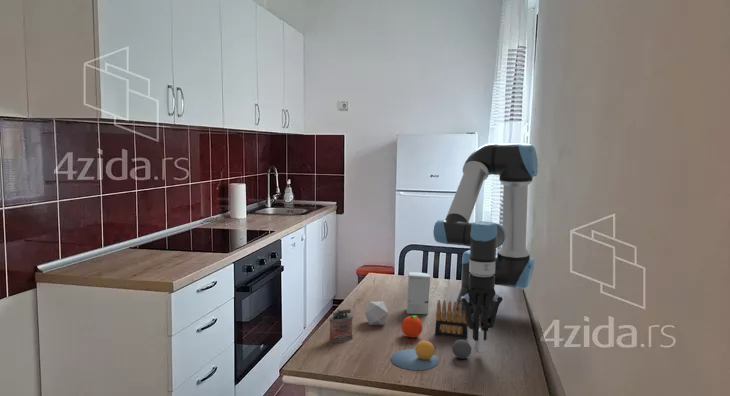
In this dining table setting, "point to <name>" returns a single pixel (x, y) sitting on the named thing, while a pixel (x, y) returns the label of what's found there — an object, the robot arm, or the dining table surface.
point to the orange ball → (424, 350)
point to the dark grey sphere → (461, 349)
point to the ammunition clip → (450, 321)
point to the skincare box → (418, 293)
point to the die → (376, 313)
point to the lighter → (341, 326)
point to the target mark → (412, 360)
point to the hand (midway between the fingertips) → (479, 350)
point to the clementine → (412, 326)
